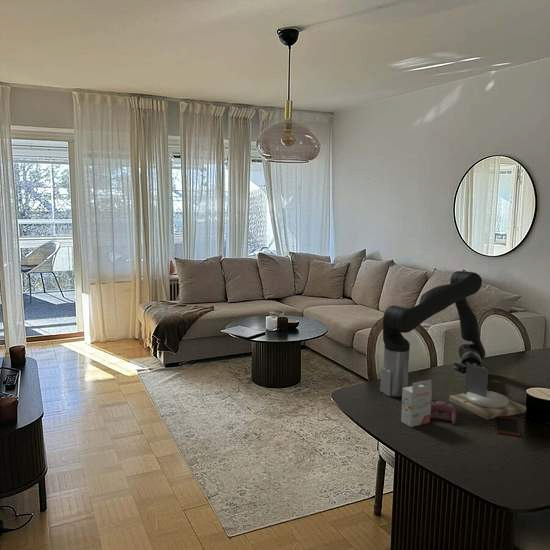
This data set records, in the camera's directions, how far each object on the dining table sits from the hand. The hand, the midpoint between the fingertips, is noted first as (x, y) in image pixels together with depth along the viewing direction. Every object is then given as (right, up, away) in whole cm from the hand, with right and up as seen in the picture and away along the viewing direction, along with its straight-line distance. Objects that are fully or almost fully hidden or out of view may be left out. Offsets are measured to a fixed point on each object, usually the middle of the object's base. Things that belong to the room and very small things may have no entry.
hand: (470, 375), depth 191 cm
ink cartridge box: (-26, -12, -21) cm, 36 cm away
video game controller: (-17, -12, -19) cm, 28 cm away
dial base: (+3, -10, -6) cm, 12 cm away
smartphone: (+3, -13, -23) cm, 26 cm away
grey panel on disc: (+3, -8, -7) cm, 11 cm away
